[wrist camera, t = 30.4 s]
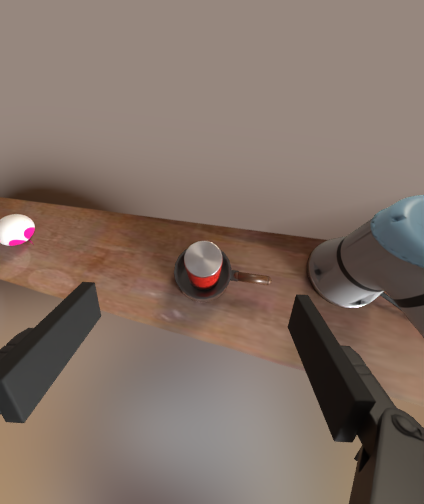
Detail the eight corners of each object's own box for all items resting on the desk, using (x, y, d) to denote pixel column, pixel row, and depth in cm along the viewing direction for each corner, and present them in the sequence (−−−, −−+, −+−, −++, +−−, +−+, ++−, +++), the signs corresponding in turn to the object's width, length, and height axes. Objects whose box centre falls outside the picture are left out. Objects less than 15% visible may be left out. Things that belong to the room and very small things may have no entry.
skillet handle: (229, 281, 44) (230, 278, 43) (230, 271, 45) (231, 269, 43) (269, 286, 44) (272, 285, 42) (270, 277, 45) (272, 275, 43)
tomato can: (225, 273, 47) (230, 256, 36) (205, 297, 45) (205, 285, 35) (202, 255, 49) (201, 233, 38) (182, 277, 47) (175, 260, 36)
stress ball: (26, 256, 52) (15, 259, 46) (-6, 231, 49) (-23, 231, 43) (53, 234, 53) (46, 235, 47) (23, 209, 51) (11, 206, 45)
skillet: (239, 273, 48) (242, 267, 44) (206, 313, 45) (205, 311, 41) (200, 242, 50) (200, 233, 46) (166, 278, 47) (162, 273, 43)
